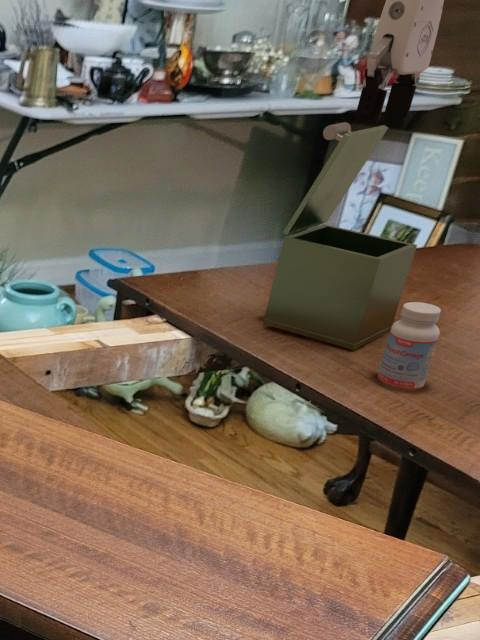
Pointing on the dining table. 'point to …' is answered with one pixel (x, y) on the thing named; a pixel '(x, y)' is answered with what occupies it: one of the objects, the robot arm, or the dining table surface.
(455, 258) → the dining table surface
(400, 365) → the pill bottle
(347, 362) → the dining table surface
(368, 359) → the dining table surface
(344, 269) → the waste bin
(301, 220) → the bin lid
